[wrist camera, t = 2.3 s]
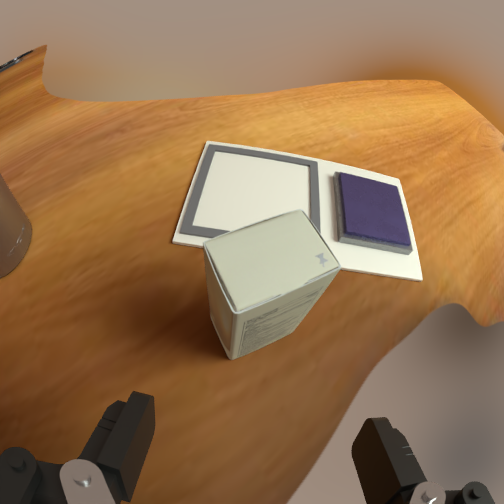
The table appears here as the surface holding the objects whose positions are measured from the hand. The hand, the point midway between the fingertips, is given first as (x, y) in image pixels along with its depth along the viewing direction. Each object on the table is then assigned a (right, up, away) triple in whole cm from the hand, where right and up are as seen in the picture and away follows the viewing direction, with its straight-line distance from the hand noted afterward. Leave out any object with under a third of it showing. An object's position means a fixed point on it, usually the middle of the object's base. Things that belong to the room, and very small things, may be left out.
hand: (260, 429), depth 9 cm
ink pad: (+14, +11, +24) cm, 30 cm away
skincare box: (0, 0, +16) cm, 16 cm away
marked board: (+6, +12, +24) cm, 27 cm away
